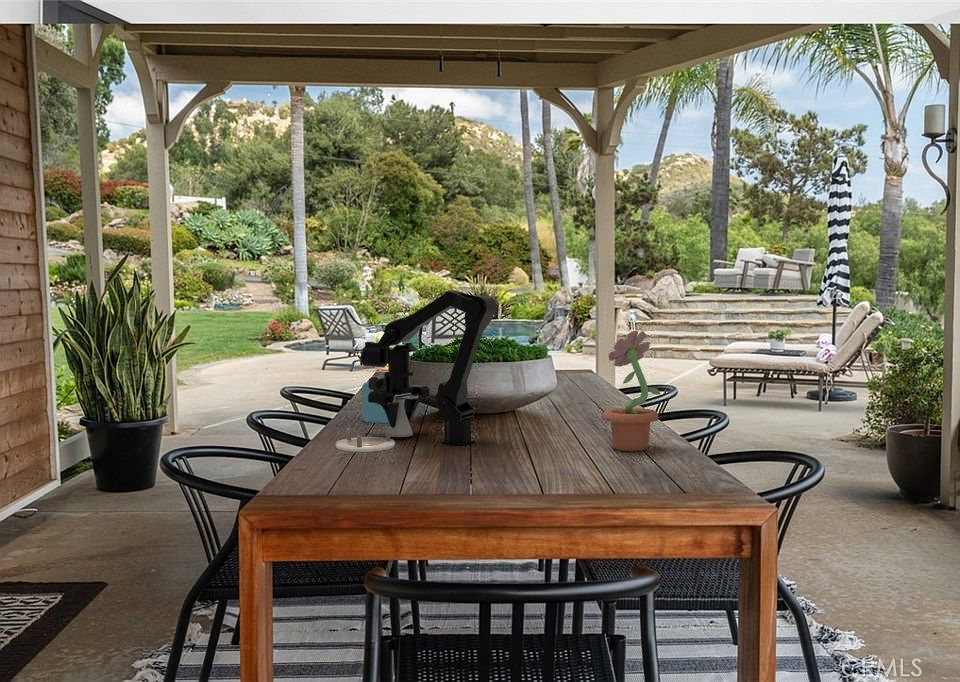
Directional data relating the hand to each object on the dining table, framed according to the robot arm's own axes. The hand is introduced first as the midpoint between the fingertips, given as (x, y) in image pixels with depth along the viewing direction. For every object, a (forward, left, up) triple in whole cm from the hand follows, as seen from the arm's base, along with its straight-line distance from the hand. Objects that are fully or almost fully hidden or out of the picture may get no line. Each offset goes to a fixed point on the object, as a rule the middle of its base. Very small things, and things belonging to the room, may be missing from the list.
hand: (399, 425), depth 245 cm
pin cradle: (-1, +14, -3) cm, 14 cm away
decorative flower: (-57, -24, -3) cm, 62 cm away
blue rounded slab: (+21, -16, -3) cm, 27 cm away
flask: (0, 0, -3) cm, 3 cm away
